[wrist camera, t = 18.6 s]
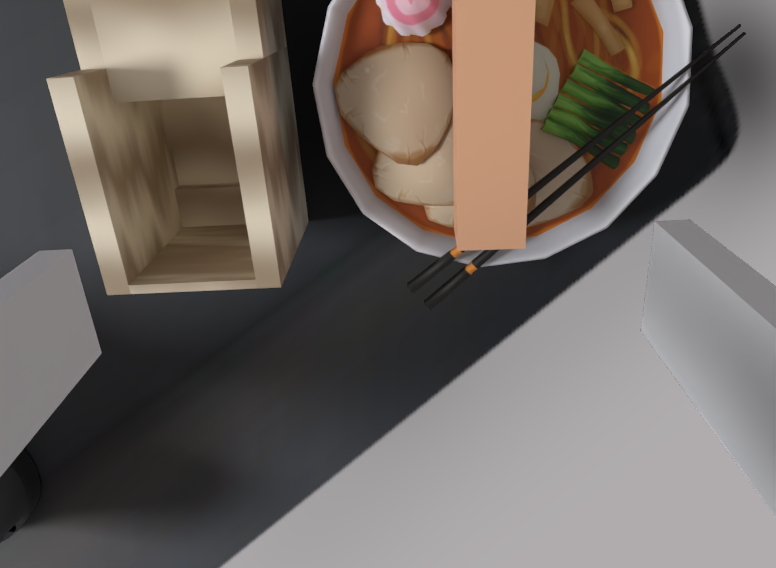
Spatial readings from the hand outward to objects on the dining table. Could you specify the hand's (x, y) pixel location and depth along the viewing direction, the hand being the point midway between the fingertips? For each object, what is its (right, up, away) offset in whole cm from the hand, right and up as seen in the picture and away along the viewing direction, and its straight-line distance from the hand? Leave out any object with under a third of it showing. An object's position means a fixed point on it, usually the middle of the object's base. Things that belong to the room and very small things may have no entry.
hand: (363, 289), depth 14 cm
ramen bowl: (+8, +15, +30) cm, 35 cm away
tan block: (+6, +13, +22) cm, 27 cm away
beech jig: (-12, +16, +30) cm, 36 cm away
